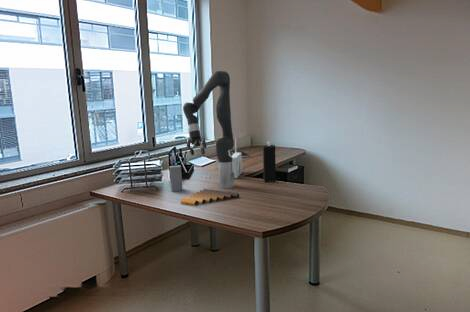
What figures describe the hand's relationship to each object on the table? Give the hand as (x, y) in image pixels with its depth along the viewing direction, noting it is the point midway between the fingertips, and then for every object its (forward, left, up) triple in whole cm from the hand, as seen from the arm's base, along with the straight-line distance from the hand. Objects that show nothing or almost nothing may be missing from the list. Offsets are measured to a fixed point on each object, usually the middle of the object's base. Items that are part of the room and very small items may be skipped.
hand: (198, 154), depth 240 cm
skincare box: (-7, -36, -22) cm, 43 cm away
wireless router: (+33, -102, -22) cm, 110 cm away
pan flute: (-25, +23, -22) cm, 41 cm away
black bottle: (-37, -31, -22) cm, 53 cm away
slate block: (+9, +14, -22) cm, 27 cm away
